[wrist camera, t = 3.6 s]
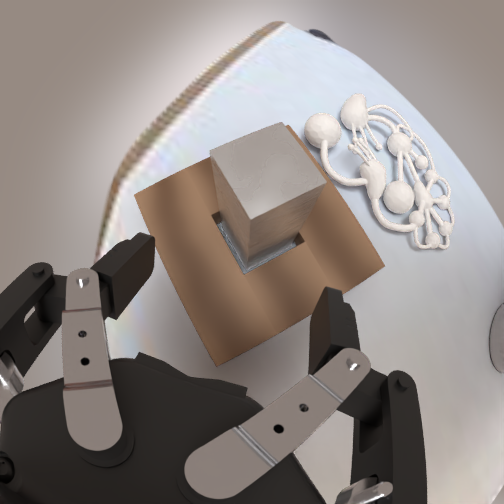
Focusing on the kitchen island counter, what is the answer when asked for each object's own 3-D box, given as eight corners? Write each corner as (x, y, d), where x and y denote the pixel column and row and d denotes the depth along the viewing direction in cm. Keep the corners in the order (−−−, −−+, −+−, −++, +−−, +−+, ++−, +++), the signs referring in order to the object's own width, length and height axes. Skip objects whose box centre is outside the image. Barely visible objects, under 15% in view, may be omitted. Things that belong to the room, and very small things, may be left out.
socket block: (285, 139, 29) (288, 124, 26) (373, 271, 25) (385, 266, 23) (142, 206, 26) (133, 194, 24) (218, 362, 23) (216, 366, 20)
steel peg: (265, 206, 27) (281, 121, 15) (290, 247, 26) (327, 182, 14) (222, 228, 26) (209, 150, 14) (246, 270, 25) (250, 219, 13)
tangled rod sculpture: (462, 212, 29) (483, 198, 25) (412, 286, 25) (438, 277, 21) (363, 101, 32) (375, 80, 28) (286, 141, 28) (295, 115, 24)
